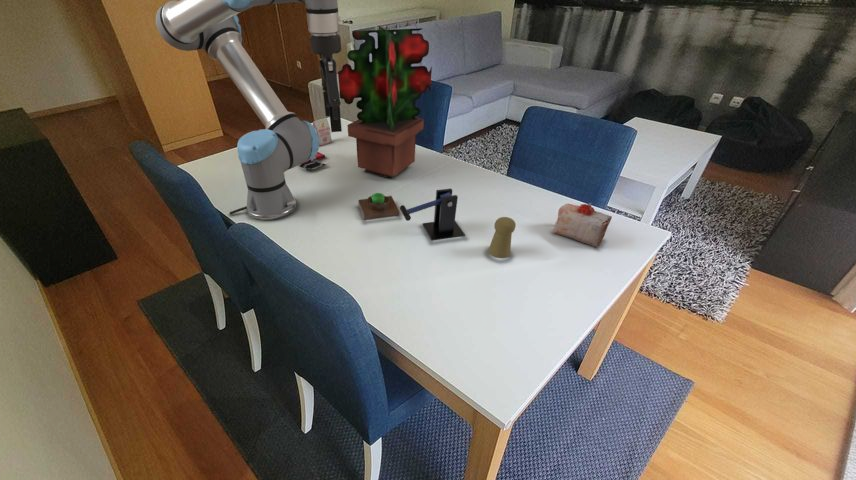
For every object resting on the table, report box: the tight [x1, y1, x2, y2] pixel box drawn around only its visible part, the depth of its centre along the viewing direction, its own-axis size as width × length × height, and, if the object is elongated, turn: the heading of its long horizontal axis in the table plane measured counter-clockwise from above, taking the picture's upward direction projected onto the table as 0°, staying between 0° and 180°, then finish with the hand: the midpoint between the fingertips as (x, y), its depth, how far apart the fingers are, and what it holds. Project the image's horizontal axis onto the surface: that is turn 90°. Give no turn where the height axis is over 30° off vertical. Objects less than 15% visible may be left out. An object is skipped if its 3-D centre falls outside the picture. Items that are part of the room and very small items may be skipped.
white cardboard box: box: [312, 117, 333, 147], centre depth 164 cm, size 4×7×10 cm, turn 131°
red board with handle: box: [298, 151, 327, 172], centre depth 155 cm, size 30×3×15 cm
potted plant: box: [337, 25, 433, 179], centre depth 132 cm, size 22×22×45 cm
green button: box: [371, 192, 385, 204], centre depth 119 cm, size 4×4×2 cm
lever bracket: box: [422, 188, 466, 242], centre depth 109 cm, size 10×9×13 cm
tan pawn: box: [487, 216, 517, 259], centre depth 101 cm, size 6×6×11 cm
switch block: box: [357, 194, 400, 221], centre depth 121 cm, size 11×10×4 cm
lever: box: [399, 192, 453, 222], centre depth 106 cm, size 14×6×2 cm, turn 103°
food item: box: [553, 202, 613, 248], centre depth 108 cm, size 14×8×10 cm, turn 51°
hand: (333, 123), depth 107 cm, fingers open, 13 cm apart
